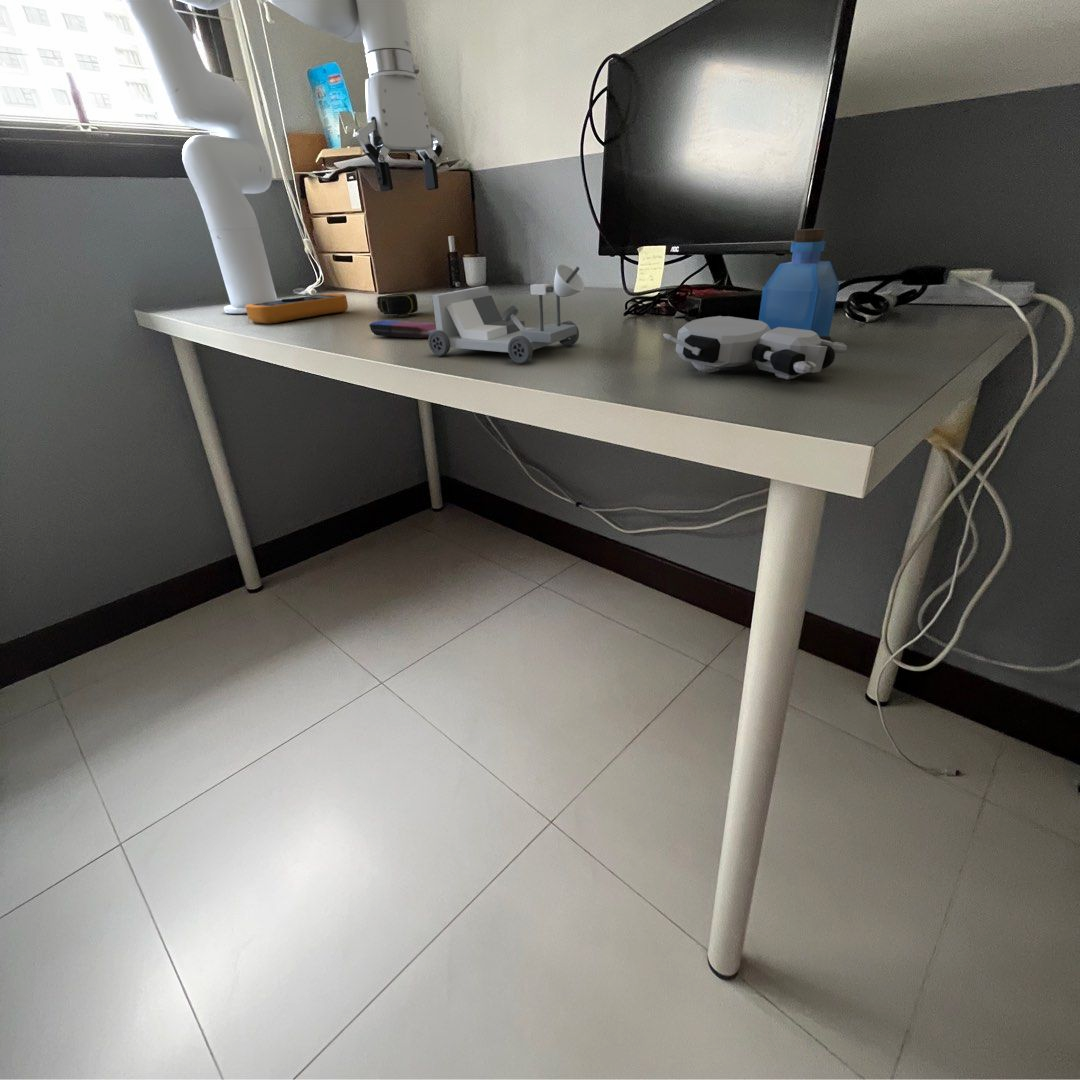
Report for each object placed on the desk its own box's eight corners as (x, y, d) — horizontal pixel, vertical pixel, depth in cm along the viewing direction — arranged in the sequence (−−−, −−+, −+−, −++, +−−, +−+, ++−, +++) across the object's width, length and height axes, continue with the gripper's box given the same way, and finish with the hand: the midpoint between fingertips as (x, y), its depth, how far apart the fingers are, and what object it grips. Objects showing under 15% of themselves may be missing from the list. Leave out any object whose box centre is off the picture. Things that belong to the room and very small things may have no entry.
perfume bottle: (755, 343, 69) (770, 231, 63) (778, 335, 73) (794, 228, 67) (806, 349, 65) (828, 229, 59) (828, 340, 69) (850, 227, 63)
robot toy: (844, 375, 57) (707, 350, 66) (858, 328, 55) (714, 308, 63) (803, 404, 50) (653, 372, 58) (817, 351, 47) (658, 325, 55)
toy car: (597, 260, 67) (545, 270, 59) (597, 347, 72) (549, 366, 64) (478, 262, 76) (417, 270, 68) (485, 338, 81) (429, 355, 72)
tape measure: (414, 312, 110) (411, 291, 108) (423, 316, 104) (419, 294, 103) (379, 315, 108) (375, 294, 106) (385, 320, 102) (381, 297, 100)
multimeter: (245, 322, 108) (239, 303, 106) (328, 309, 120) (324, 292, 118) (267, 325, 103) (262, 305, 101) (352, 311, 115) (348, 293, 113)
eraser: (445, 334, 86) (444, 322, 85) (430, 339, 82) (429, 326, 82) (384, 330, 90) (382, 319, 89) (367, 335, 86) (365, 323, 86)
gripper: (422, 79, 102) (437, 191, 110) (332, 69, 92) (357, 193, 100) (446, 69, 97) (461, 186, 105) (355, 57, 87) (378, 188, 95)
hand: (410, 189), depth 103 cm, fingers open, 9 cm apart
